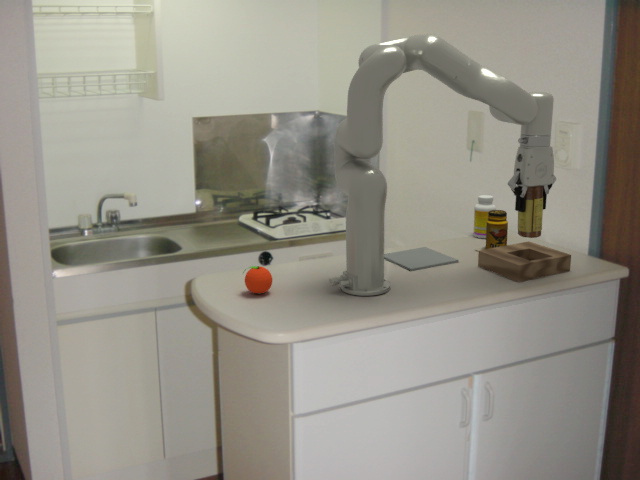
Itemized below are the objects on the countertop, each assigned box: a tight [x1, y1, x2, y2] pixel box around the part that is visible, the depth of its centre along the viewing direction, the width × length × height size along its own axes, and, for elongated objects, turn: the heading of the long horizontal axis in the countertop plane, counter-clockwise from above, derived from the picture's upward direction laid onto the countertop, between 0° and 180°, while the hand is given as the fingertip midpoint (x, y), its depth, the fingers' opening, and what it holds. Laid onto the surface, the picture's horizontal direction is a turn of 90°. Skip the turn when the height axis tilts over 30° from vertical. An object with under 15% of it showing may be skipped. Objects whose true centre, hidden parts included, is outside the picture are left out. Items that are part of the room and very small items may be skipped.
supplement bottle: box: [473, 194, 497, 239], centre depth 234 cm, size 7×7×13 cm
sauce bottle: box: [517, 186, 544, 239], centre depth 196 cm, size 7×6×20 cm
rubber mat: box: [384, 246, 459, 272], centre depth 213 cm, size 16×16×1 cm
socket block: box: [477, 240, 572, 283], centre depth 202 cm, size 18×16×4 cm
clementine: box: [242, 265, 273, 294], centre depth 187 cm, size 8×7×7 cm
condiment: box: [475, 209, 509, 252], centre depth 219 cm, size 7×8×12 cm
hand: (530, 209), depth 197 cm, fingers closed on sauce bottle, 6 cm apart
